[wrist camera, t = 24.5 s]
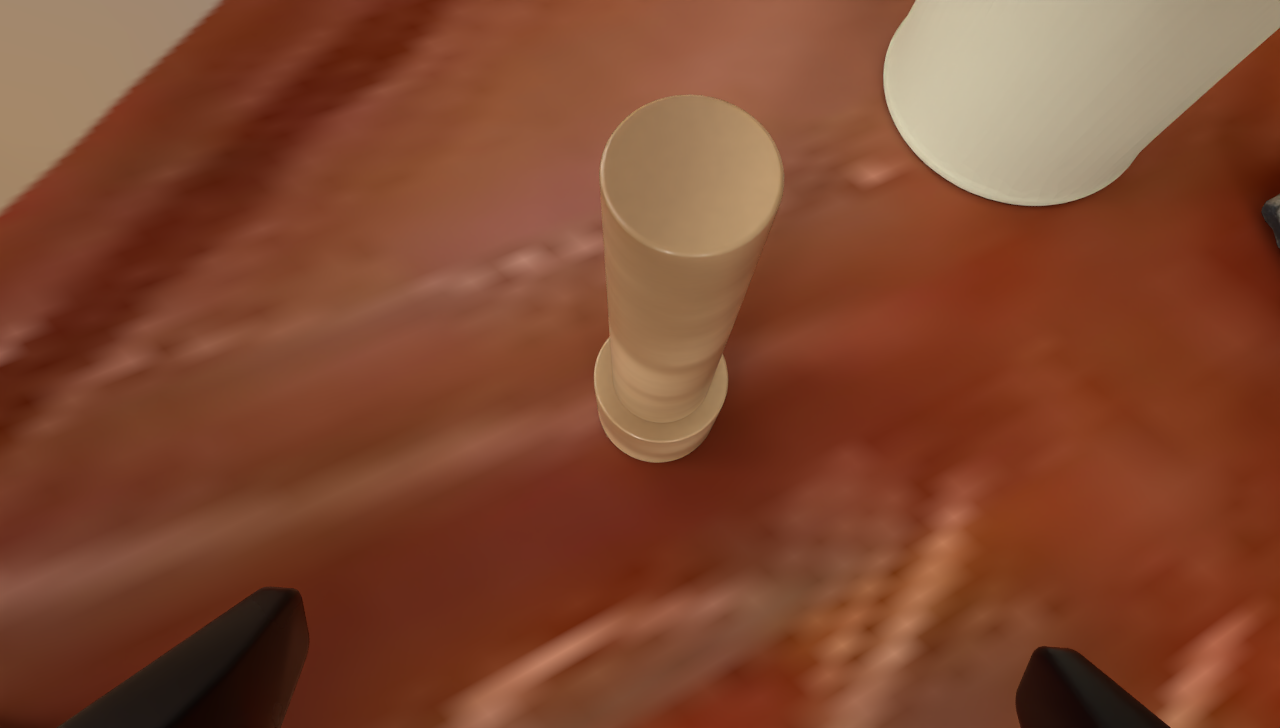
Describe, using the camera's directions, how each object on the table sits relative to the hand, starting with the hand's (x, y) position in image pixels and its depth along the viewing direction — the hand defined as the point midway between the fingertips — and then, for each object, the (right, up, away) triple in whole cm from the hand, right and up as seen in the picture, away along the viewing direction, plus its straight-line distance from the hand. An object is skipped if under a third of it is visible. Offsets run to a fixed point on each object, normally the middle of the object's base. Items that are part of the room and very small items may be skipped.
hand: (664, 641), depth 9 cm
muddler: (0, +2, +14) cm, 14 cm away
